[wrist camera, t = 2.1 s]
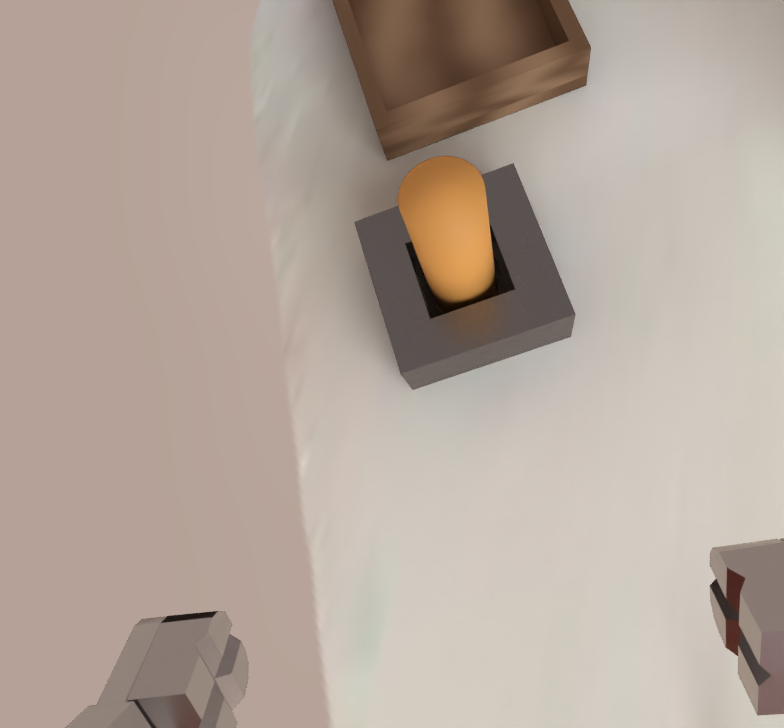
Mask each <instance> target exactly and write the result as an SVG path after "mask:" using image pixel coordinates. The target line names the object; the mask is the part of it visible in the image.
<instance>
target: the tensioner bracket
mask: <svg viewBox="0 0 784 728" xmlns="http://www.w3.org/2000/svg"><path fill="white" fill-rule="evenodd" d="M481 176H482V178H483V181H484V184H485V190H486V199H487V207H488V216H489V224H490V233H491V241H492V249H493V253H494V255H495V258H496V260H497V263H498V266H499V268H500V271H501V274H502V276H503V279H504V282H505V284H506V287H507V290H508V292H506V293H503V294H501V295H498V296H495V297H492V298H489V299H486V300H483V301H480V302H478V303H475V304H472V305H469V306H466V307H463V308H460V309H457V310H455V311H452V312H449V313H446V314H443V315H440V316H437V317H435V318H432V316H431V313H430V310H429V307H428V304H427V301H426V298H425V295H424V292H423V289H422V286H421V283H420V280H419V277H418V274H417V271H416V270H419V269H421V268H422V267H421V264H420V262H419V259H418V256H417V254H416V251H415V249H414V246H413V243H412V241H411V238H410V236H409V233H408V230H407V228H406V225H405V223H404V220H403V217H402V215H401V212H400V209H399V206H397V207H394V208H391V209H389V210H386V211H383V212H381V213H378V214H375V215H373V216H370V217H367V218H364V219H362V220H359V221H356V222H354V223H355V226H356V229H357V232H358V236H359V239H360V242H361V245H362V249H363V252H364V255H365V258H366V262H367V265H368V268H369V272H370V275H371V278H372V281H373V285H374V288H375V291H376V294H377V298H378V301H379V304H380V307H381V311H382V314H383V317H384V320H385V324H386V327H387V330H388V334H389V337H390V340H391V343H392V347H393V350H394V353H395V356H396V360H397V363H398V366H399V369H400V373H401V375H402V376H403V377H404V379H405V380H406V381H407V383H408V384H409V385H410V387H411V388H412V389H413V390H414V389H417V388H419V387H422V386H425V385H428V384H431V383H434V382H437V381H440V380H443V379H446V378H449V377H452V376H455V375H458V374H461V373H464V372H467V371H470V370H473V369H476V368H479V367H482V366H485V365H488V364H491V363H494V362H497V361H500V360H503V359H506V358H509V357H512V356H515V355H518V354H521V353H523V352H526V351H529V350H532V349H535V348H538V347H541V346H544V345H547V344H550V343H553V342H556V341H559V340H562V339H565V338H568V337H571V333H572V328H573V324H574V319H575V312H574V310H573V307H572V305H571V302H570V300H569V297H568V295H567V293H566V290H565V288H564V285H563V283H562V280H561V278H560V276H559V273H558V271H557V268H556V266H555V263H554V261H553V258H552V256H551V254H550V251H549V249H548V246H547V244H546V241H545V239H544V236H543V234H542V232H541V229H540V227H539V224H538V222H537V219H536V217H535V215H534V212H533V210H532V207H531V205H530V202H529V200H528V197H527V195H526V193H525V190H524V188H523V185H522V183H521V180H520V178H519V175H518V173H517V171H516V168H515V166H514V163H513V164H510V165H508V166H505V167H502V168H500V169H497V170H494V171H491V172H489V173H486V174H483V175H481Z"/></svg>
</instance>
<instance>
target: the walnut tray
mask: <svg viewBox="0 0 784 728" xmlns="http://www.w3.org/2000/svg"><path fill="white" fill-rule="evenodd" d="M333 3H334V6H335V9H336V12H337V15H338V18H339V21H340V24H341V27H342V30H343V33H344V36H345V39H346V42H347V45H348V48H349V51H350V54H351V57H352V60H353V63H354V66H355V69H356V72H357V75H358V77H359V80H360V83H361V86H362V89H363V92H364V95H365V98H366V101H367V104H368V107H369V110H370V113H371V116H372V119H373V122H374V125H375V128H376V131H377V134H378V136H379V139H380V142H381V145H382V147H383V150H384V153H385V155H386V158H387V161H388V160H390V159H393V158H395V157H398V156H401V155H403V154H406V153H409V152H411V151H414V150H417V149H419V148H422V147H424V146H427V145H430V144H432V143H435V142H438V141H440V140H443V139H446V138H448V137H451V136H454V135H456V134H459V133H461V132H464V131H467V130H469V129H472V128H475V127H477V126H480V125H483V124H485V123H488V122H490V121H493V120H496V119H498V118H501V117H504V116H506V115H509V114H512V113H514V112H517V111H519V110H522V109H525V108H527V107H530V106H533V105H535V104H538V103H541V102H543V101H546V100H549V99H551V98H554V97H556V96H559V95H562V94H564V93H567V92H570V91H572V90H575V89H578V88H580V87H583V86H585V85H586V82H587V74H588V66H589V58H590V50H591V46H590V44H589V42H588V40H587V38H586V36H585V34H584V32H583V30H582V28H581V26H580V24H579V22H578V20H577V18H576V15H575V13H574V11H573V9H572V7H571V5H570V3H569V1H568V0H333Z"/></svg>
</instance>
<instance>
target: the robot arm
mask: <svg viewBox="0 0 784 728" xmlns="http://www.w3.org/2000/svg"><path fill="white" fill-rule="evenodd" d="M710 567H711V569H712V571H713V573H714V575H715V577H716V579H715V580H714V582H713V583H712V584H711V585H710V601H711V606H712V611H713V616H714V620H715V622H716V625H717V628H718V631H719V634H720V636H721V638H722V640H723V643H724V645H725V647H726V648H727V649H729V650H730V651H731V652H733V653H734V654H736V655H737V656H738V675H739V677H740V680H741V682H742V684H743V686H744V688H745V690H746V692H747V694H748V696H749V699H750V701H751V703H752V705H753V707H754V709H755V711H756V713H757V715H771V714H784V538H782V539H780V540H779V539H772V540H765V541H757V542H750V543H743V544H736V545H728V546H721V547H714V548H712V550H711V552H710ZM231 627H232V623H231V621H230V619H229V617H228V615H227V614H226V612H225V611H213V612H204V613H193V614H183V615H173V616H166V617H157V618H147V619H142V620H140V621H139V622H138V623H137V624H136V625H135V626H134V628H133V630H132V632H131V634H130V636H129V638H128V640H127V642H126V644H125V647H124V649H123V651H122V653H121V655H120V657H119V659H118V661H117V663H116V665H115V667H114V670H113V671H112V674H111V676H110V678H109V680H108V682H107V684H106V686H105V688H104V690H103V692H102V694H101V696H100V699H99V701H98V703H97V705H91V706H88V707H87V708H86V709H85V710H84V711H83V712H81V713H80V714H79V715H78V716H77V717H76V718H75V719H74V720H73V721H72V722H71V723H70V724H69V725H67V726H66V727H65V728H236V726H237V720H236V718H235V716H234V713H233V711H232V710H233V709H234V708H235V707H236V706H237V705H238V704H239V703H240V701H241V700H242V699H243V698H244V696H245V692H246V688H247V684H248V667H249V663H248V658H247V654H246V650H245V648H244V646H243V644H242V642H241V641H240V640H239V639H237V638H235V637H234V636H232V635H231V634H229V633H230V630H231Z"/></svg>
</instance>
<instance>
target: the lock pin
mask: <svg viewBox="0 0 784 728" xmlns="http://www.w3.org/2000/svg"><path fill="white" fill-rule="evenodd" d="M398 205H399V209H400V212H401V215H402V217H403V220H404V223H405V225H406V228H407V230H408V233H409V236H410V238H411V241H412V243H413V246H414V249H415V251H416V254H417V256H418V259H419V262H420V264H421V267H422V269H423V272H424V275H425V277H426V280H427V282H428V285H429V288H430V290H431V293H432V295H433V298H434V301H435V303H436V305H437V307H438V309H439V310H440V311H441V312H442V313H443V314H446V313H449V312H452V311H455V310H457V309H460V308H463V307H466V306H469V305H472V304H475V303H478V302H480V301H483V300H486V299H489V298H492V297H495V296H497V283H496V275H495V266H494V258H493V249H492V241H491V233H490V224H489V216H488V207H487V199H486V190H485V184H484V181H483V178H482V176H481V174H480V173H479V171H478V170H477V169H476V168H475V167H474V166H473V165H472V164H470V163H469V162H467V161H465V160H463V159H460V158H457V157H452V156H440V157H434V158H431V159H428V160H426V161H423V162H422V163H420V164H418V165H417V166H415V167H414V168H413V169H412V170H411V171H410V172H409V173H408V174H407V175H406V177H405V178H404V180H403V182H402V184H401V186H400V189H399V194H398Z"/></svg>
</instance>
